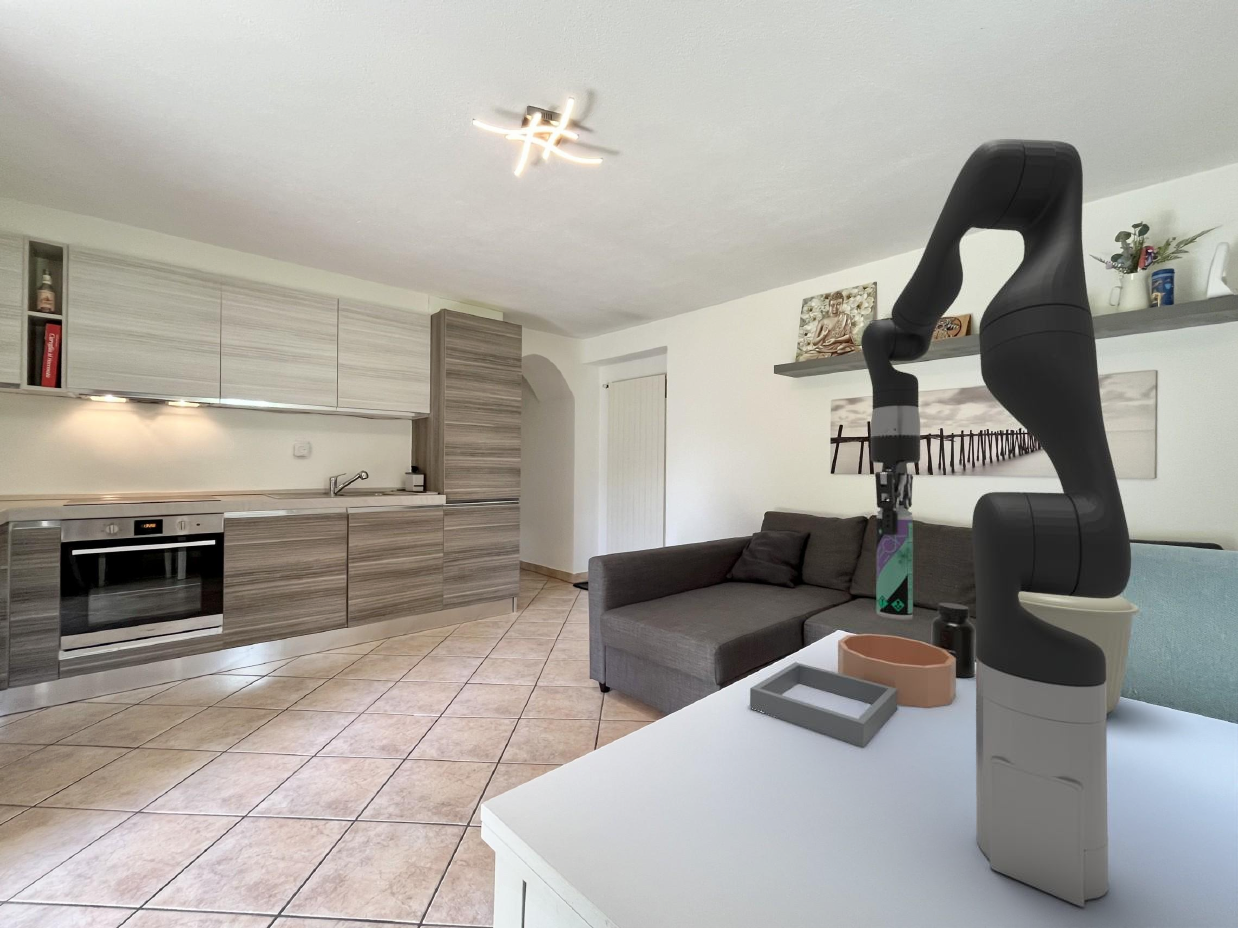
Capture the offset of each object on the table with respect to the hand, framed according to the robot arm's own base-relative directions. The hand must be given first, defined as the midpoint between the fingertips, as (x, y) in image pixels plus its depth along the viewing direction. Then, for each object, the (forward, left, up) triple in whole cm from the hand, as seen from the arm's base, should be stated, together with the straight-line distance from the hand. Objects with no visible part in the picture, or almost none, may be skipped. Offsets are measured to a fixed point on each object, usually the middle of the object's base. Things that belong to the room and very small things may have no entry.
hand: (894, 533), depth 88 cm
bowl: (0, 0, -26) cm, 26 cm away
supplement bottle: (+15, -6, -26) cm, 31 cm away
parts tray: (-18, +5, -26) cm, 32 cm away
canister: (+12, -21, -26) cm, 35 cm away
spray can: (0, 0, -14) cm, 14 cm away
